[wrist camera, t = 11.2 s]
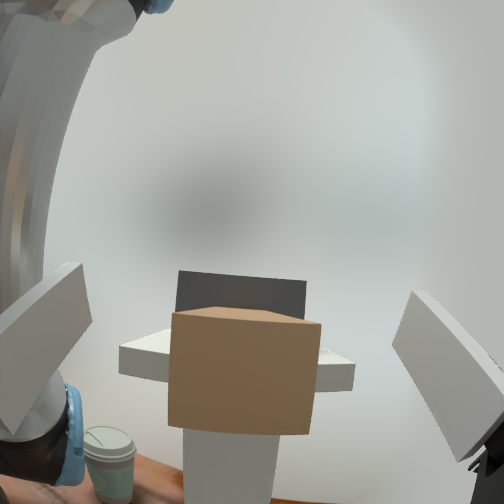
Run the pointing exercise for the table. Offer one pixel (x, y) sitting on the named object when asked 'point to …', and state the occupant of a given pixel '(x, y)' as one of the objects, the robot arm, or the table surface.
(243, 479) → the tall stand
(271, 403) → the hammer
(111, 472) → the coffee cup
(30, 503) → the table surface
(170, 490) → the table surface
